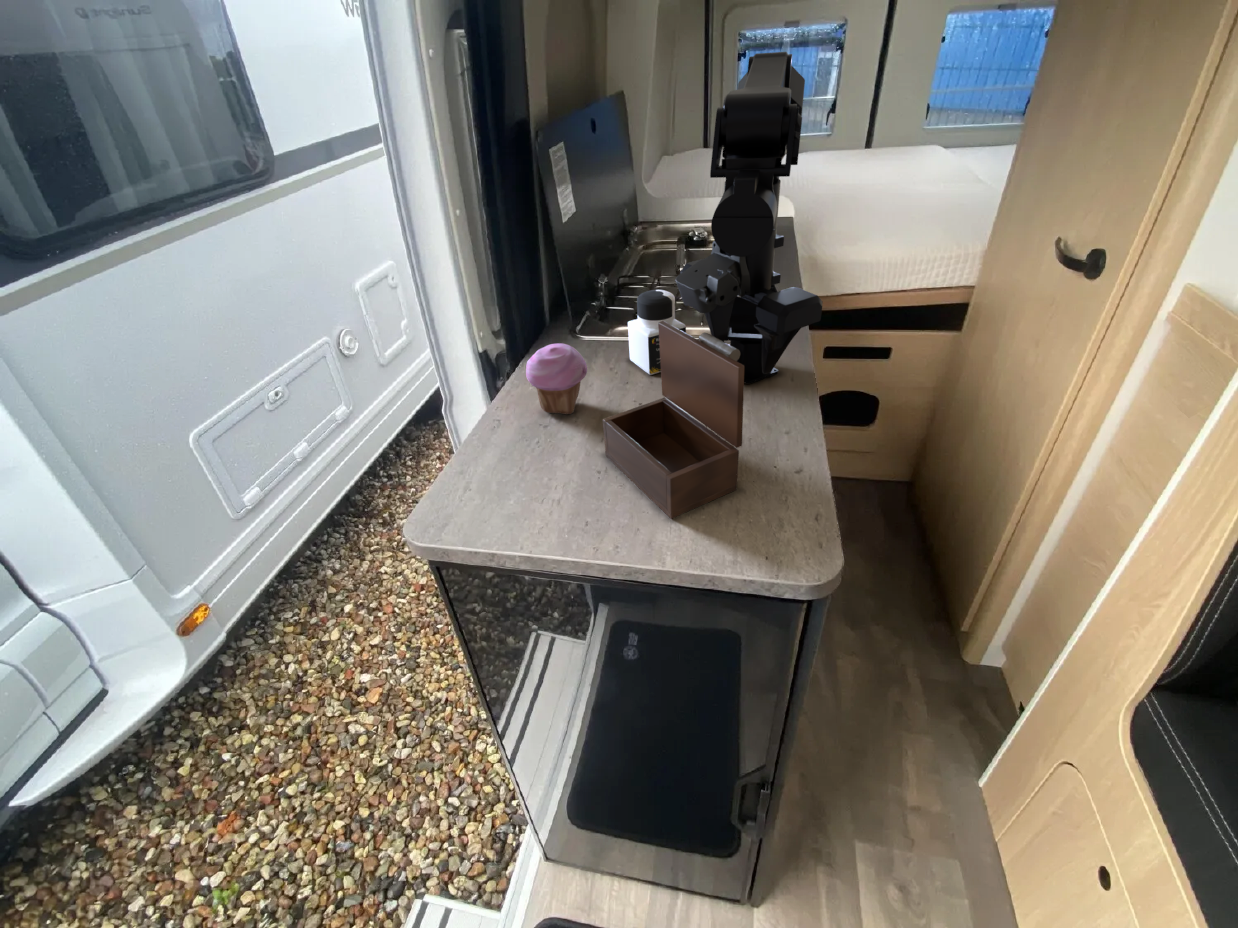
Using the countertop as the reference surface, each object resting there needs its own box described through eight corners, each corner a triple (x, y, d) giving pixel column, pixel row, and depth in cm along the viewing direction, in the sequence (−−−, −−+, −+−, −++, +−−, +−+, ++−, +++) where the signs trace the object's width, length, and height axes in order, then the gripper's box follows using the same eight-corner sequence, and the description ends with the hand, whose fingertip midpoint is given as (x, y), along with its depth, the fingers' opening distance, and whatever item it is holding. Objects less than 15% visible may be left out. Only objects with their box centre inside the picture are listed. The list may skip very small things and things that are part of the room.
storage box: (671, 519, 70) (670, 478, 67) (605, 456, 81) (602, 418, 78) (736, 489, 74) (739, 450, 70) (665, 433, 85) (664, 397, 82)
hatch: (738, 367, 64) (769, 355, 65) (657, 322, 75) (685, 312, 77) (736, 448, 70) (765, 435, 71) (662, 395, 81) (687, 385, 83)
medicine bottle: (649, 376, 99) (647, 305, 92) (629, 360, 105) (625, 292, 98) (686, 365, 102) (686, 295, 95) (664, 350, 107) (663, 283, 100)
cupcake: (524, 420, 90) (513, 359, 84) (543, 392, 97) (534, 333, 91) (582, 424, 88) (575, 362, 83) (597, 395, 95) (591, 335, 89)
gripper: (641, 224, 69) (646, 349, 79) (746, 264, 56) (738, 410, 65) (719, 207, 74) (715, 328, 83) (835, 240, 60) (815, 380, 69)
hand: (741, 358), depth 75 cm, fingers open, 9 cm apart
